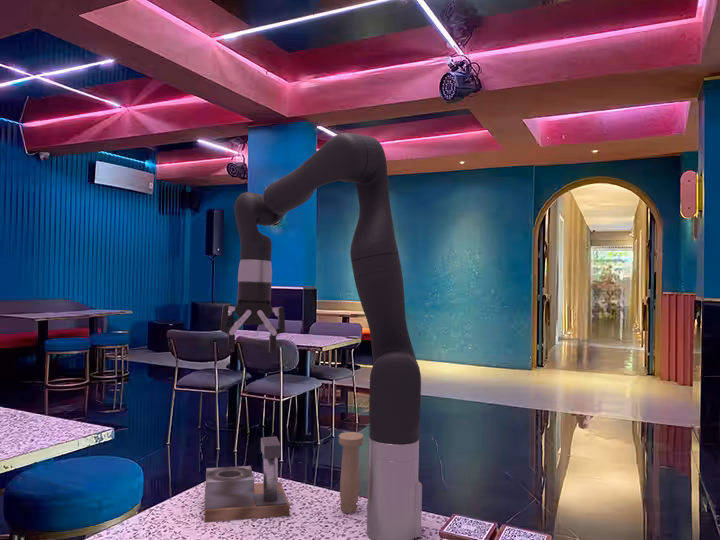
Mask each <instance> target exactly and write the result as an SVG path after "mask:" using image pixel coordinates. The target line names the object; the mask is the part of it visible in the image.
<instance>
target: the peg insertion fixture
mask: <svg viewBox="0 0 720 540" xmlns="http://www.w3.org/2000/svg"><path fill="white" fill-rule="evenodd" d="M251 466H252V465H247V466H246V465H245V466H243V465H241V466H228V467H226V466H225V467H206V472H205V486H204V523H212V522H222V521H224V522H225V521H236V520H249V519H250V520H251V519H263V518H278V517H277V516H279V517H289V516H291V515H290V511H291V510H290V509H291V508H290V507H291V505H290V502H289V500H288V497H287V494H286V493H285V490H284V488H283V485H282V482H281V481H278V499H277V500H276V501H272V502H267V501H264V482H262V483H261V482H258V483H255V478H254V473H253V470H252V467H251Z"/></svg>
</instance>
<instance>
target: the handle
mask: <svg viewBox="0 0 720 540" xmlns="http://www.w3.org/2000/svg"><path fill="white" fill-rule="evenodd" d="M363 443H364V434H363V433H360V432H355V431H345V432H341V433H339V434H338V444H339V445H341V447H342V455H341V467H340V479H339V498H340V499H339V500H340V510H341V511H342V512H343V514H353V513H356V512H357V510H358V502H359V501H358V500H359V493H360V467H359V466H360V465H359V464H360V463H359V462H360V456H359V453H360V452H359V451H360V450H359V449H360V447H361V446H362V445H363Z"/></svg>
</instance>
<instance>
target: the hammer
mask: <svg viewBox="0 0 720 540" xmlns="http://www.w3.org/2000/svg"><path fill="white" fill-rule="evenodd" d="M281 446H282V445H281V443H280V441H279V439H278V436H276V435H275V436H266V437H265V436H264V437H260V451H261V453H262V456H263V483H264V501H267V502H272V501H276V500H277V499H278V482H279V476H278V475H279V474H278V469H279V467H278V466H279V464H278V463H279V462H278V461H279V460H278V459H280V458H282V457H281V456H282V450H281V449H282V448H281Z"/></svg>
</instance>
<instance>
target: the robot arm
mask: <svg viewBox="0 0 720 540" xmlns="http://www.w3.org/2000/svg"><path fill="white" fill-rule="evenodd" d="M334 182H343V183H353V184H355V187H356V191H357V198H358V205H359V212H358V213H359V214H358V218H357V219H358V220H357V223H356V226H355V229H354V233H353V236H352V239H351V244H350V253H349V254H350V262H351V263H350V264H351V268H352V272H353V273H352V274H353V279H354V283H355V284H354V285H355V288H356V291H357V296H358V300H359V301H360V302H359V303H360V305H361V308H362V311H363V313H364V316H365V320H366V321H367V325H368V330H369V335H370V343H371V353H372V354H371V355H372V368H371V371H370V373H369V374H370V375H369V390H368V392H369V394H368V396H369V398H368V400H369V401H368V402H369V405H368V407H369V408H368V425H369V426H368V427H369V433H368V435H369V438H368V471H367V472H368V473H367V506H366V508H367V509H366V534H367V536H368V537H369V538H370V539H372V540H412V539H413V540H415V539H418V538H417V537H421V538H422V508H423V507H422V505H423V504H422V503H423V500H422V499H423V484H422V483H421V482H420V481H419V459H420V458H419V456H420V455H419V453H420V452H419V450H420V449H419V448H420V428H421V402H422V401H421V400H422V399H421V397H422V396H421V395H422V373H421V369H420V366H419V364H418V361H417V358H416V355H415V352H414V349H413V346H412V345H413V344H412V340H411V338H410V334H409V331H408V324H407V320H406V319H407V318H406V300H405V298H406V297H405V286H404V277H403V270H402V265H401V264H402V263H401V259H400V258H401V257H400V254H399V249H398V245H397V240H396V235H395V228H394V221H393V215H392V209H391V201H390V190H389V177H388V165H387V158H386V153H385V150H384V147H383V145H382V143H380V141H379V140H378V139H376V138H375V137H372V136H370V135H365V134H364V135H363V134H359V133H352V132H341V133H338V134H336V135H334V136H333V137H331V138H330V139H329V140H327V141H326V142H325V143H324V144H322V145H321V147H319V148H318V149H317V150H316V151H315V153H313V154H312V155H311V156H310V157H309V158H308V159H306V160H305V161H304V162H303V163H302V164H301V165H299V166H298V167H297V168H295V169H294V170H292V171H291V172H289V173H287V174H286V175H284V176H282V177H281V178H279V179H278V180H275V181H273V182H272V183H270V184H269V185H268V186H267V187H266V188H265V190H264V191H263V194H260V193H255V192H249V191H245V192H242V193H240V195H238V197H237V199H236V200H235V202H234V207H233V209H234V210H233V211H234V217H235V223H236V227H237V231H238V236H239V241H240V252H239V253H240V258H239V260H240V261H239V266H238V273H237V275H238V276H237V295H236V297H237V300H236V305H235V306H231V305H230V306H229V305H226V304H224V305H223V306H222V313H221V320H220V322H221V323H220V331H221V332H222V333H225V334H227V335H228V339H227V348H228V350H230V352H231V353H235V350H236V349H235V347H236V345H235V344H236V335H235V333H236V332H237V331H238V330H239V329H240V328H241V326H243V325H244V326H253V325H254V326H261V325H263V326H265V328H266V329H267V331H268V332H269V334H270V335H269V336H268V353H274V352H273V351H276V349H277V337H278V335H280V334H284V333H285V331H286V328H285V327H286V326H285V325H286V324H285V323H286V321H285V319H286V317H285V308H284V306H279V307H278V306H277V307H272V305H271V302H272V281H273V280H272V278H273V277H272V276H273V270H272V269H273V267H272V254H273V253H272V249H273V244H272V239H271V238H270V237H269V236H268V235H265V234H263V233H261V232H260V231H259V230H260V229H259V228H258V226H265V227H270V226H273V225H275V224H277V223H279V222H280V220H282V218H284V216H285V215H286V214H287V213H288V212H290V211H292V210H294V209H296V208H298V207H300V206H301V205H303V204H305V203H306V202H307V201H309V200H310V198H312V196H313V194H314V192H315V191H316V189H318V188H320V187H322V186H324V185H327V184H331V183H334ZM233 312H235V314H236V315H237V317H238V319H236V321H235V322H234V324H232V326H231V327H228V326H227V325H228V318H229V316H231V315H232V313H233ZM272 313H273V314H274V315H275V316H276V317H277V328H274V326H273V325H272V323H271V322H270V320H269V319H268V318H269V317H270V316H271V315H272ZM414 538H415V539H414Z"/></svg>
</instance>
